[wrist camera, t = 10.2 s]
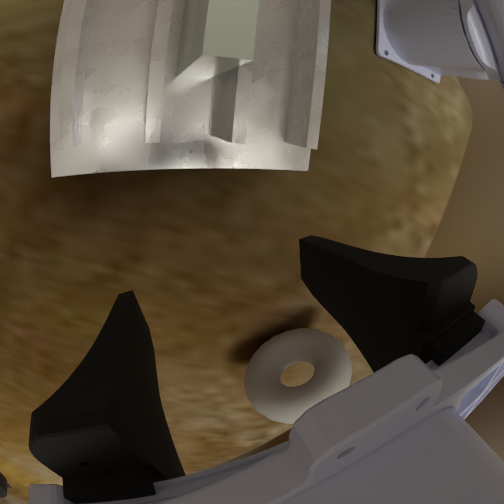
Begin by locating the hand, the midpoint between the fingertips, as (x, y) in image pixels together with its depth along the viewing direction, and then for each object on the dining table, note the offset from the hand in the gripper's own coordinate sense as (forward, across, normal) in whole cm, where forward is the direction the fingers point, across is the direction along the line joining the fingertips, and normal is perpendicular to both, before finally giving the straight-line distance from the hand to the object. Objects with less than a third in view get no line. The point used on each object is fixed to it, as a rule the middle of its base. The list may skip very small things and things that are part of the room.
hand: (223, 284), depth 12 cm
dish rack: (+10, -3, -13) cm, 17 cm away
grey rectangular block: (+9, -3, -13) cm, 16 cm away
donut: (+11, -6, +16) cm, 20 cm away
